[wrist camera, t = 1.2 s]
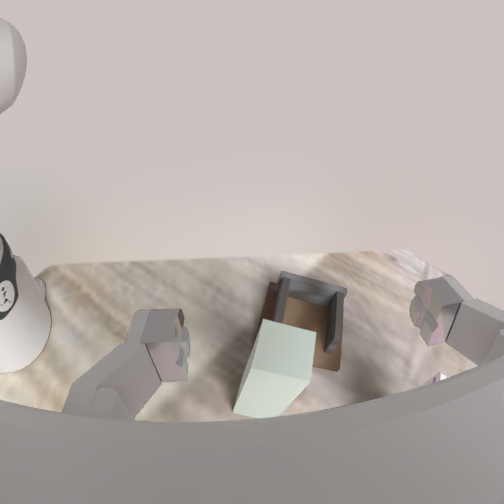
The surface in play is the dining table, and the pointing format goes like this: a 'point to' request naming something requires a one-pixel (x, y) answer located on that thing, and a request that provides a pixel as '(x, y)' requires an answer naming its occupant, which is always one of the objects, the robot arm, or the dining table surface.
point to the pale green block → (275, 370)
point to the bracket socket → (309, 313)
